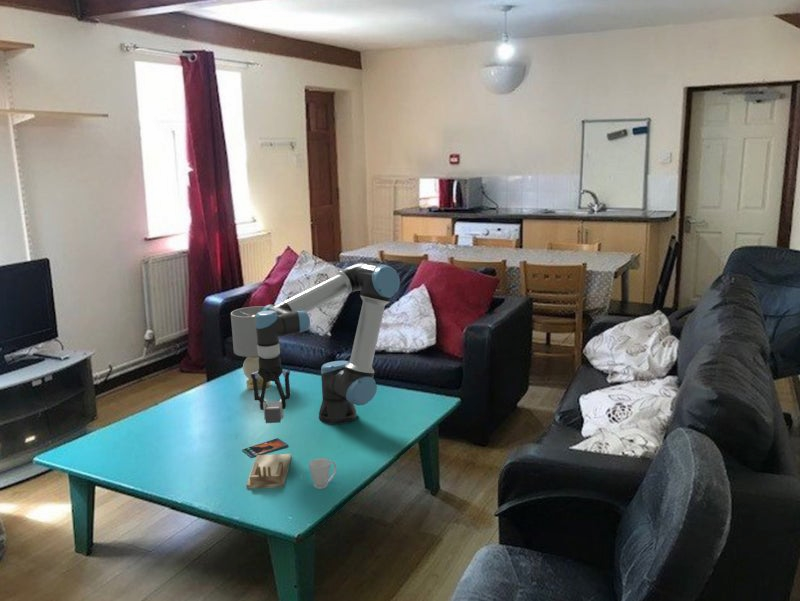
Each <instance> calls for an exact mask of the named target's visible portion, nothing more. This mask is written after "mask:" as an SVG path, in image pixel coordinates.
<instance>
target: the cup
mask: <svg viewBox="0 0 800 601" xmlns="http://www.w3.org/2000/svg"><path fill="white" fill-rule="evenodd" d="M331 464H333V466H334V468H333V472H332V474H331V476H330V472H331V470H330V469H331ZM308 466H309V470H310V475H311V479H312V481H313V483H314V484H313V486H314V488H315V489H320V490H321V489H325V488H327V487H328V484H329V483H330V482H331V480H333V478H334V477H335V475H336V473H337V464H336V462H335V461H334V460H329V458H324V457H323V458H322V457H318V458H313V459H312V460H311V461H309V462H308Z"/></svg>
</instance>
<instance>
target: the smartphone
mask: <svg viewBox="0 0 800 601" xmlns="http://www.w3.org/2000/svg"><path fill="white" fill-rule="evenodd" d="M287 447H289V444H288V443H286V442H285V441H283V440H282V439H280V438H279V437H277V438H273V439H270V440H267V441H264V442H261V443H259V444H255V445H252V446H249V447H245V448H243V449H242V450H241V452H242V453H244V454H246V456H248V457H249V458H251V459H252V458H256V456H257V455H267V454H269V453H273V452H275V451H279V450H282V449H285V448H287Z"/></svg>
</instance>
